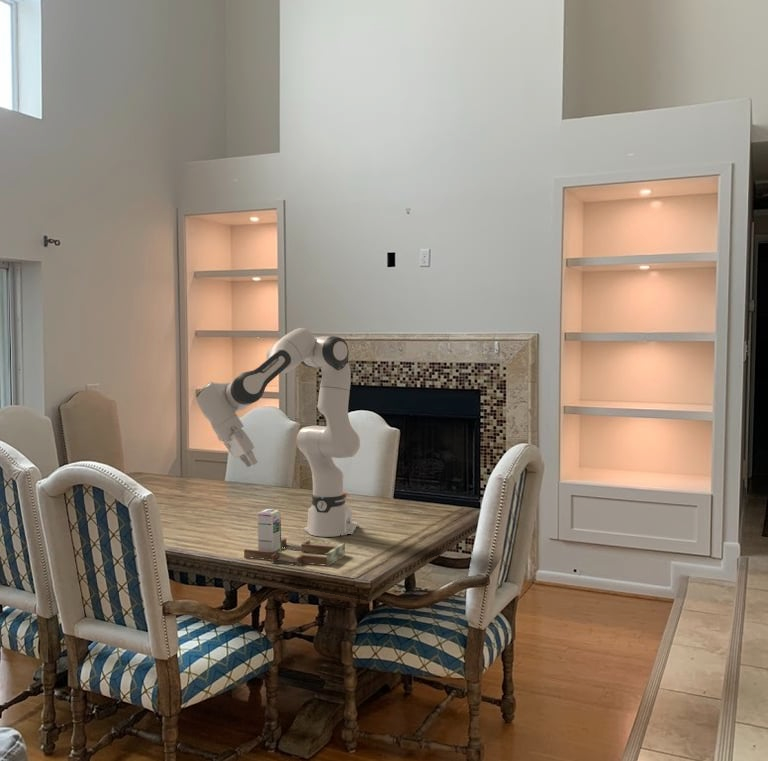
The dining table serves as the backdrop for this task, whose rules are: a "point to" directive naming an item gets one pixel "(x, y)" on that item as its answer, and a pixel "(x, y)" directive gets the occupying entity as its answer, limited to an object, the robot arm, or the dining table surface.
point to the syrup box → (269, 530)
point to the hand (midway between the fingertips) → (252, 465)
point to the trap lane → (331, 551)
